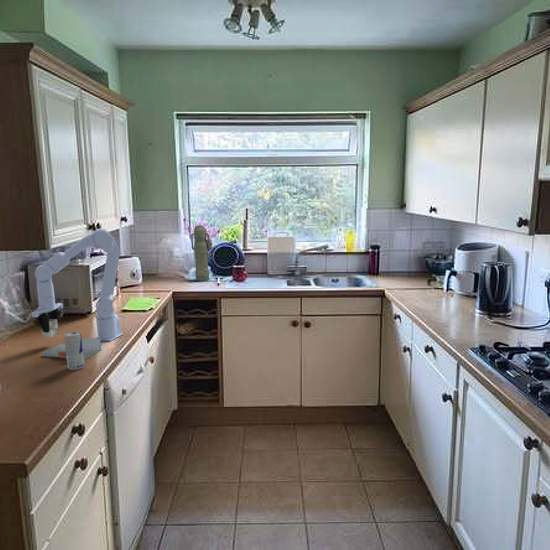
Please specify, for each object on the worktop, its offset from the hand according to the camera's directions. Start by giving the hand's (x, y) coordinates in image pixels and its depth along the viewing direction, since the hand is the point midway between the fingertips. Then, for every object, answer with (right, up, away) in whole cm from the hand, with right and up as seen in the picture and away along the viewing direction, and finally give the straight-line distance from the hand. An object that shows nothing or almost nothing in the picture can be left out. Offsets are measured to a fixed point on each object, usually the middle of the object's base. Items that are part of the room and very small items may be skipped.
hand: (50, 330), depth 188 cm
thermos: (+40, +18, +127) cm, 134 cm away
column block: (0, -2, 0) cm, 2 cm away
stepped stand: (+12, -8, -8) cm, 16 cm away
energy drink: (+19, -10, -23) cm, 31 cm away
